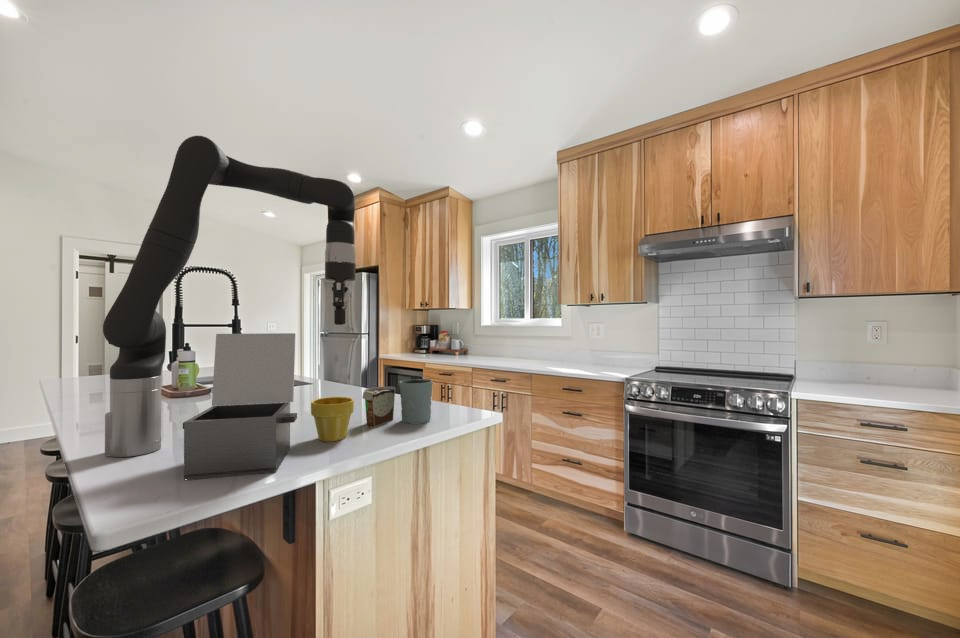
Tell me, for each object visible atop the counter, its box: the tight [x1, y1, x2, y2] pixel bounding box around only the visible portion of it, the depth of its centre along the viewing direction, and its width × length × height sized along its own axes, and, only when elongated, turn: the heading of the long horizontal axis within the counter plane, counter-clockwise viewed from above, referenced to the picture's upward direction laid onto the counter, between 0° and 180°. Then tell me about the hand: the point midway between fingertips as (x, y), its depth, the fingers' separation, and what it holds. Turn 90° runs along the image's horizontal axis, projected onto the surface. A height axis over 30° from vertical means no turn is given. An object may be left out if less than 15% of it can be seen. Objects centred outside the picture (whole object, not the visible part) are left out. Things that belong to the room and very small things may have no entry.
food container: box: [362, 386, 397, 428], centre depth 125 cm, size 12×6×10 cm, turn 157°
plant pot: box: [310, 396, 355, 443], centre depth 109 cm, size 10×10×10 cm
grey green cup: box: [398, 378, 433, 425], centre depth 128 cm, size 10×10×12 cm
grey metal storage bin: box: [182, 402, 298, 481], centre depth 90 cm, size 21×16×11 cm
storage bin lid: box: [211, 332, 296, 407], centre depth 100 cm, size 17×16×2 cm
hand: (340, 324), depth 109 cm, fingers open, 8 cm apart
